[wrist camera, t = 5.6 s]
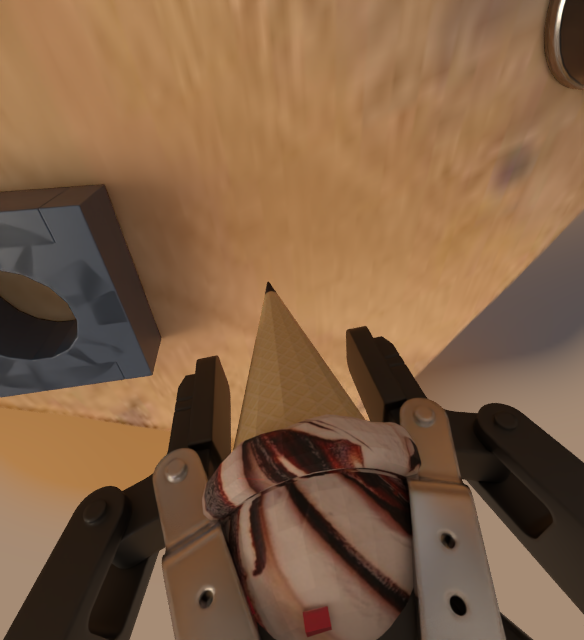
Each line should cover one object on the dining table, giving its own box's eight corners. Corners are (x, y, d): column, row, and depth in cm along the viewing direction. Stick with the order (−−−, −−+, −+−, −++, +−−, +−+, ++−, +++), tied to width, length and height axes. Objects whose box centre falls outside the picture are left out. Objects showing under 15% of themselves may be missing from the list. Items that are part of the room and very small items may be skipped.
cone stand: (104, 184, 20) (79, 205, 17) (161, 338, 28) (152, 375, 24) (-127, 201, 19) (-210, 228, 15) (1, 360, 27) (-33, 402, 23)
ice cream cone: (340, 259, 17) (610, 676, 5) (289, 337, 19) (386, 730, 8) (241, 211, 15) (308, 781, 3) (198, 306, 17) (134, 807, 5)
